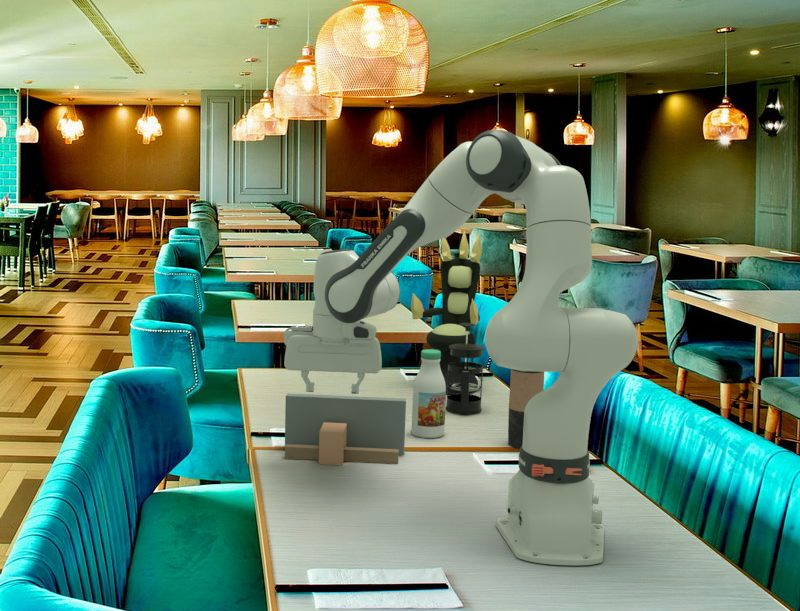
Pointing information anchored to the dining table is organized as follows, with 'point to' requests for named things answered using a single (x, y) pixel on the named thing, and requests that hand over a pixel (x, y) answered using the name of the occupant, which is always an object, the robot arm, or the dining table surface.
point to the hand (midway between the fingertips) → (332, 392)
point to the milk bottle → (429, 397)
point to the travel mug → (521, 401)
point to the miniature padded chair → (454, 306)
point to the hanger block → (332, 443)
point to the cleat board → (366, 426)
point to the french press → (465, 378)
